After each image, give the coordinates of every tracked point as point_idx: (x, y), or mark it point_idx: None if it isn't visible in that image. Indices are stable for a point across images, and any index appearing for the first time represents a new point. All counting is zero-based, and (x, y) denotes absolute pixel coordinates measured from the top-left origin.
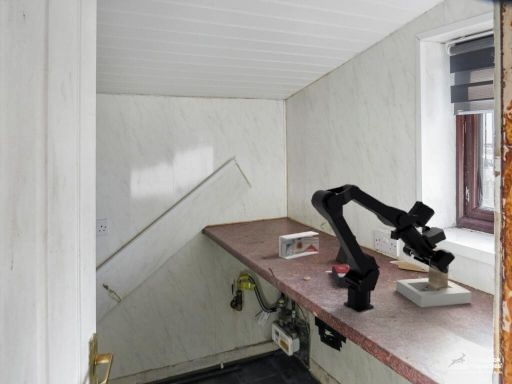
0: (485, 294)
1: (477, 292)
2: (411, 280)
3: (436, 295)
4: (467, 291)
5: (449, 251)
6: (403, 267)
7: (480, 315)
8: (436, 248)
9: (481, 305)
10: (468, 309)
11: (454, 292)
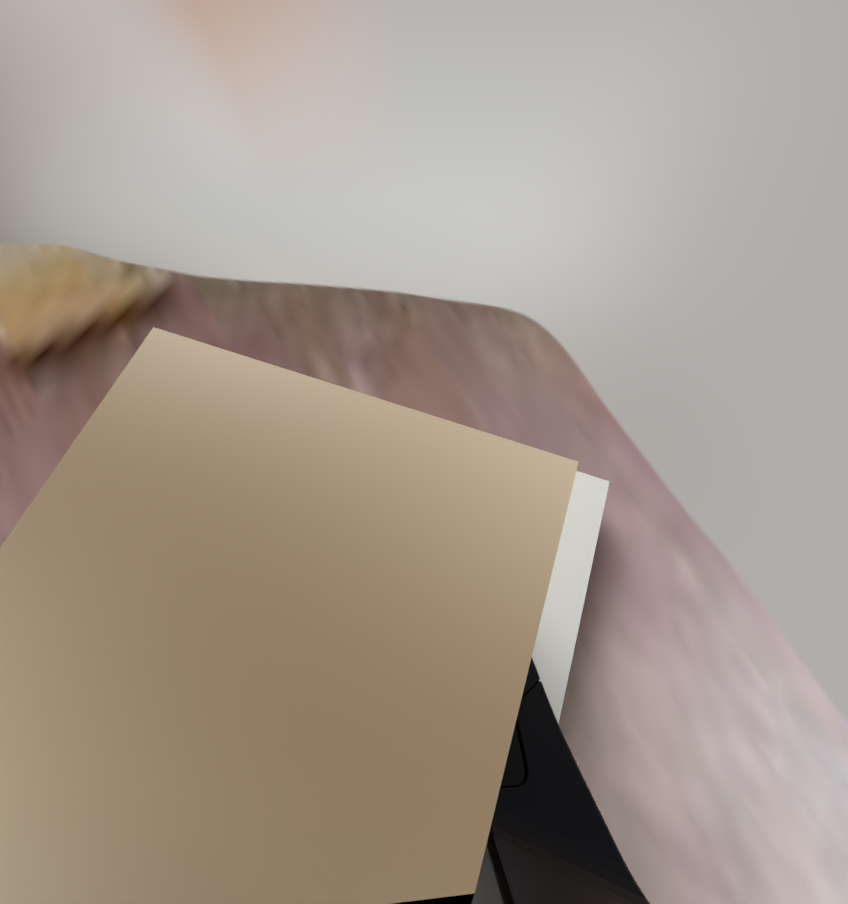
0: (529, 320)
1: (492, 328)
2: None
3: None
4: (588, 495)
5: (571, 471)
6: (30, 329)
7: (733, 630)
8: (59, 555)
9: (625, 477)
10: (640, 606)
11: (564, 608)
